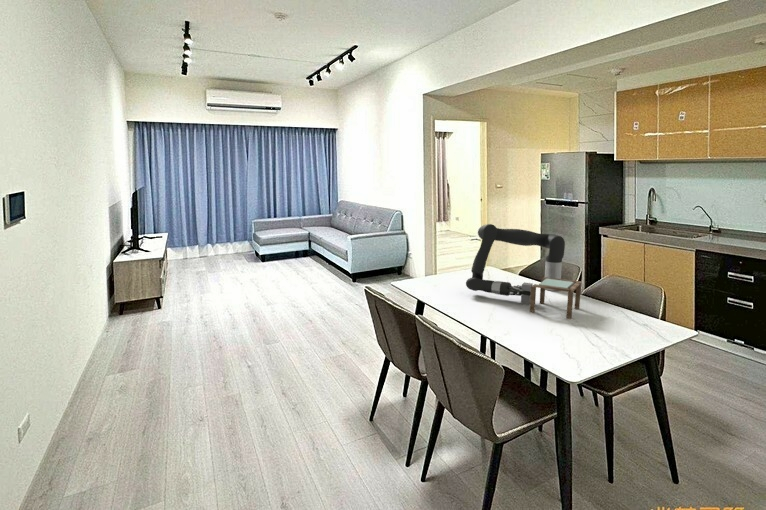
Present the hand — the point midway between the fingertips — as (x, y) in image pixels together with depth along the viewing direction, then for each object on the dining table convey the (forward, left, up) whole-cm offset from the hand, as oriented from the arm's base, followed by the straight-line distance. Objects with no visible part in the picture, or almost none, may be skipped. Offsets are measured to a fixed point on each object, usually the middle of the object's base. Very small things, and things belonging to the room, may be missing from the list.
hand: (531, 292), depth 249 cm
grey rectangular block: (0, -3, -7) cm, 7 cm away
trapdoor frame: (+4, +13, -7) cm, 15 cm away
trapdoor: (+4, +14, +7) cm, 16 cm away
